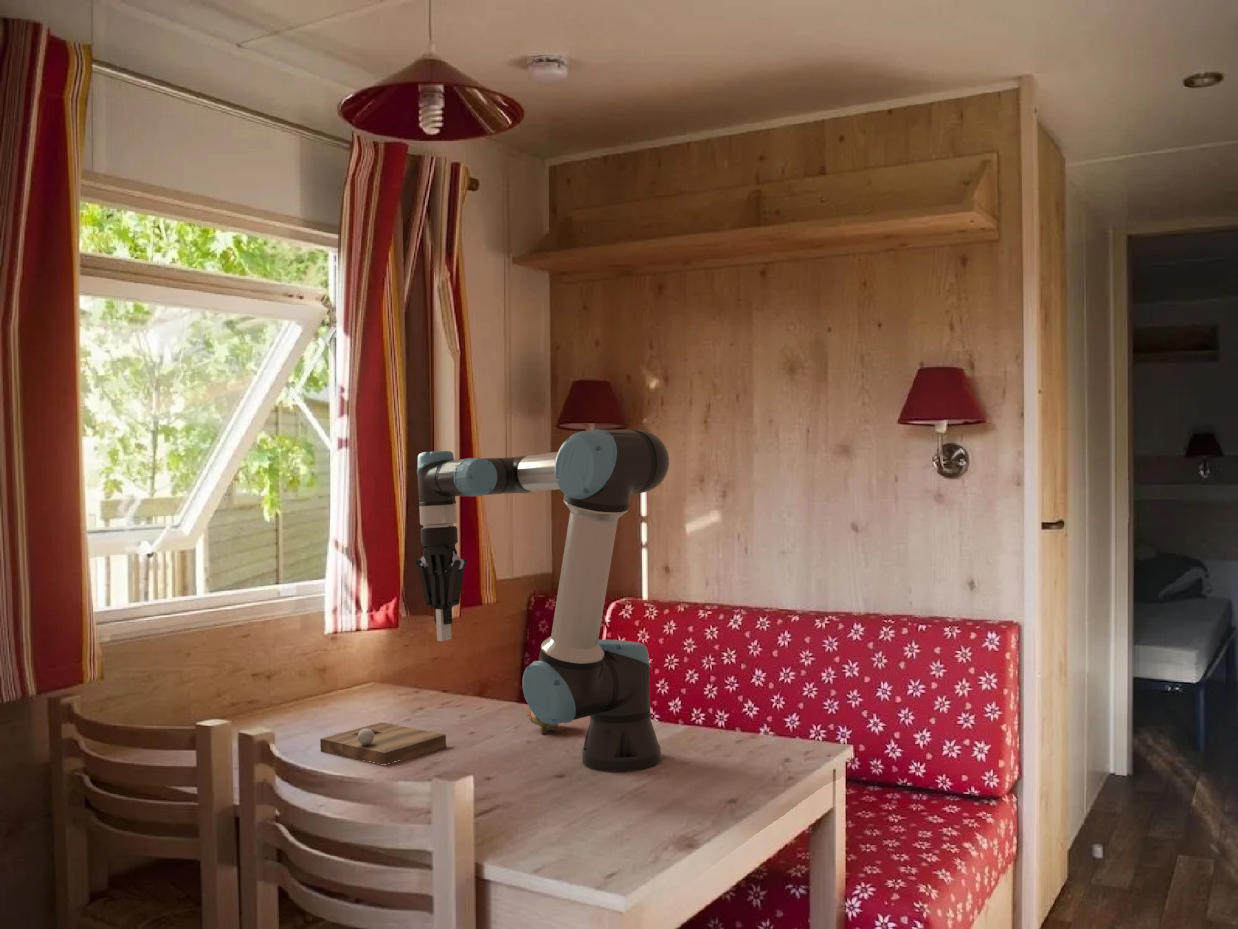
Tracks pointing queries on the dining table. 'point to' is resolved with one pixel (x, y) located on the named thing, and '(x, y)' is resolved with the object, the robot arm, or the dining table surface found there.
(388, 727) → the board
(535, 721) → the flower
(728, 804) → the dining table surface
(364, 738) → the grey ball
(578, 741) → the dining table surface
